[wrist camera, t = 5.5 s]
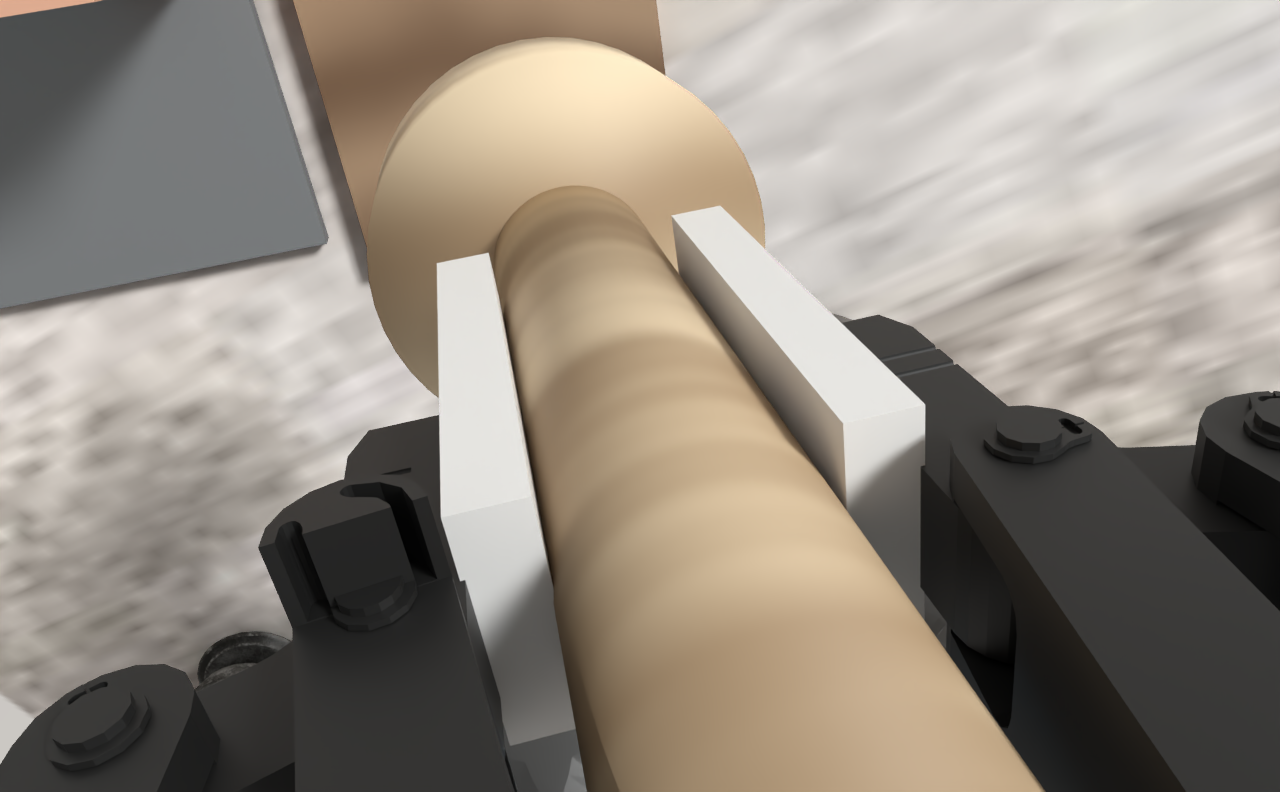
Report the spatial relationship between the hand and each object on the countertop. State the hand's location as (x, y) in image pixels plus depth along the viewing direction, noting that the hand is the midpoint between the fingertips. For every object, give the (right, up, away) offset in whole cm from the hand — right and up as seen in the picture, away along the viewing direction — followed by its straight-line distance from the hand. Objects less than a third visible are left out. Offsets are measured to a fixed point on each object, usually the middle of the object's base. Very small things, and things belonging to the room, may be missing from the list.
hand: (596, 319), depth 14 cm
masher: (-1, +2, +4) cm, 5 cm away
